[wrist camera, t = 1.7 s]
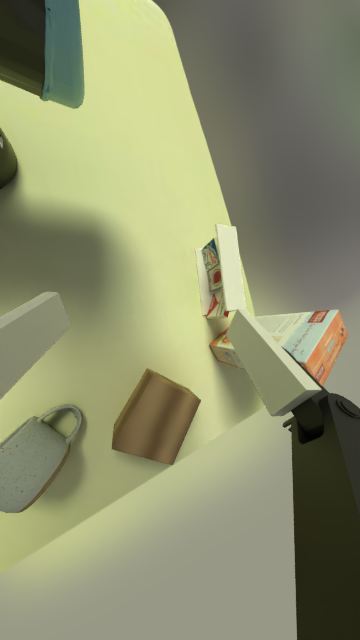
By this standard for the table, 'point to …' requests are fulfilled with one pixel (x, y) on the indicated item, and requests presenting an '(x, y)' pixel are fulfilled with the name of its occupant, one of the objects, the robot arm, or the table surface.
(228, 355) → the cracker box
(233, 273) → the white packet holder
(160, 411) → the walnut block
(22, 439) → the ceramic mug
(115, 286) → the table surface
